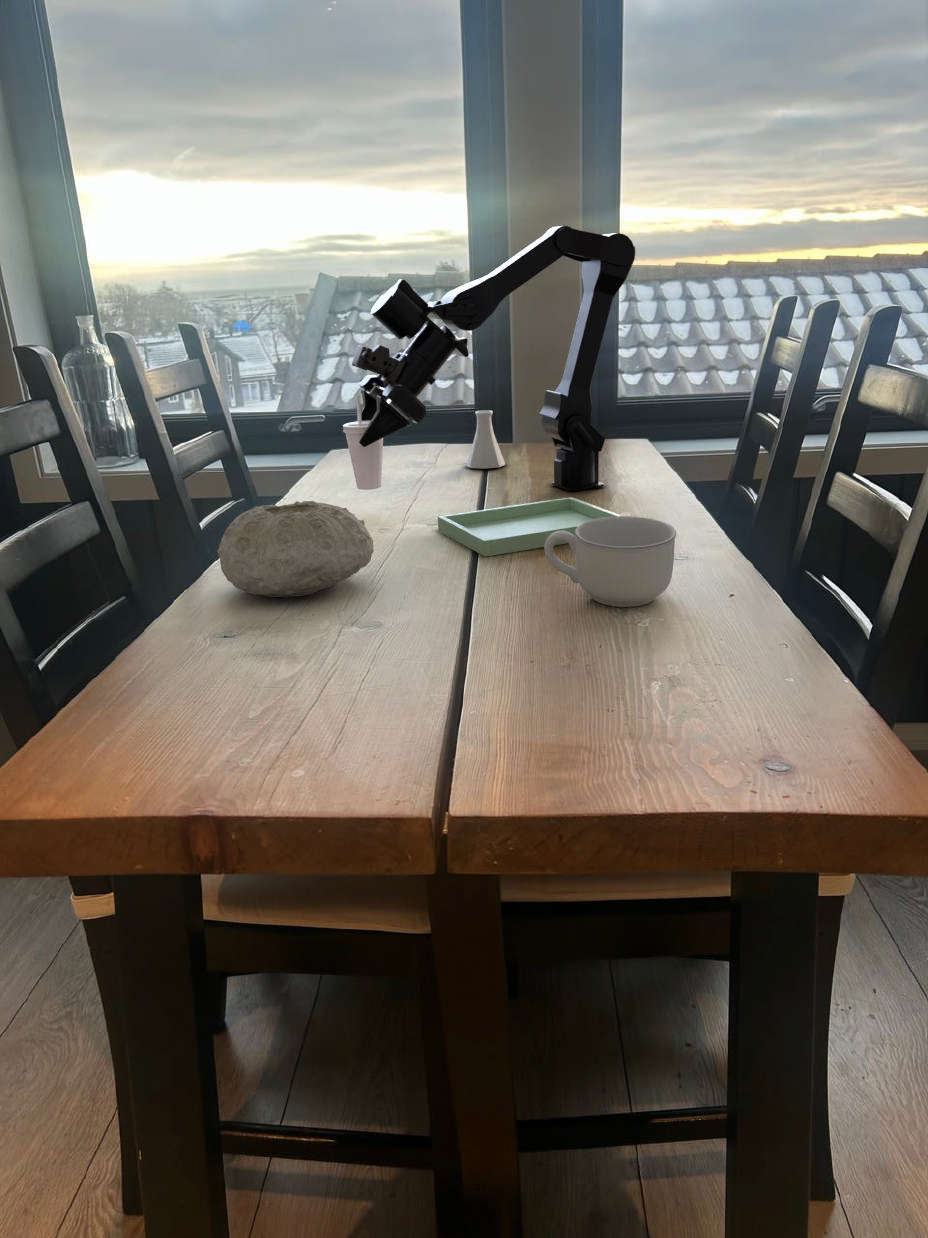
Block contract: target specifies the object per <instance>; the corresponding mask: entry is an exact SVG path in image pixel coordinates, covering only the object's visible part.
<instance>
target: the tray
mask: <svg viewBox="0 0 928 1238" xmlns="http://www.w3.org/2000/svg"><path fill="white" fill-rule="evenodd" d="M617 516H623V515H621V514H619V513H616V512H613V511H610V510H608V509H605V508H602V507H600V506H597V505H594V504H591V503H589V502H586V501H583V500H580V499H578V498H575V497H573V496H569V497H562V498H561V497H560V498H556V499H555V498H554V499H549V500H541V501H534V502H527V503H520V504H513V505H506V506H501V507H500V506H499V507H494V508H493V507H492V508H487V509H486V508H485V509H480V510H471V511H465V512H459V513H452V514H445V515H438V516H437V531H438V532H439V533H441V534H443V535H445V536H447V537H449V538H450V539H452V540H455V541H456V542H458V543H460V544H461V545H463V546H465V547H466V548H469V549H470V550H473V551H474V552H476V553H477V554H479V555H481V556H482V557H484V558H485V557H492V556H497V555H498V556H499V555H505V554H510V553H515V552H523V551H529V550H535V549H542V548H544V546H545V542H546V540H547V538H548V537H549V536H550V535H551V534H552V533H554V532H556V531H567V532H570V533H572V534H573V535H575V530H576V528H577V527H578V526H579V525H580V524H582V523H584V522H586V521H590V520H593V519H598V518H604V517H617ZM565 544H566V545H567V544H569V543H568V542H566V541H564V540H559V541H557V542H555V544H554V546H559V545H565Z"/></svg>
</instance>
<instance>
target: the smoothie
mask: <svg viewBox="0 0 928 1238" xmlns="http://www.w3.org/2000/svg"><path fill="white" fill-rule="evenodd" d="M355 402H356V413H357V418H358V421H356V420H355V421H351V422H346V423H344V424H343V425H342V429H343V430H342V432H343V433H344V434H345V437H346V443H347V447H348V452H349V456H350V460H351V466H352V469H353V470H352V471H353V475H354V479H355V485H356V488H357V489H358V490H361V491H362V490H364V491H367V490H376V489H379V488H381V487H382V478H383V477H382V476H383V474H382V473H383V454H384V453H383V451H384V450H383V449H384V437H383V438H381V439H379V440H378V441H376V442H374V443H372V444H370V445H368V446H366V447H363V446H362V445H361V444H360V443H359V441H360V439H361V437H362V436H363V434H364V432H365V430H366V429H367V427H368V425H369V424H370V422H371V420H369V421H362V418H361V408H362V406H361V397H360V394H358V393H357V394H355Z"/></svg>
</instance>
